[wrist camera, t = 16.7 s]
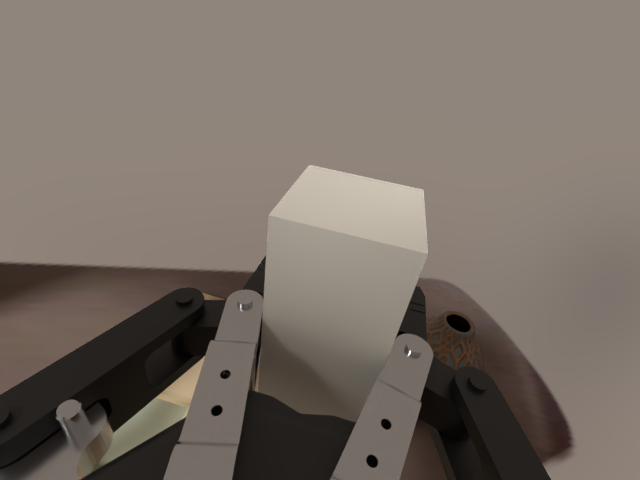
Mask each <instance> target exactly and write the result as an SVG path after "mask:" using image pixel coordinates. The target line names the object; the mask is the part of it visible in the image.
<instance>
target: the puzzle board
mask: <svg viewBox="0 0 640 480" xmlns="http://www.w3.org/2000/svg"><path fill="white" fill-rule="evenodd" d="M203 295H204V299H205V300H225V299H222V298H219V297H215V296H212V295H208V294H205V293H203ZM204 358H205V356H204V357H203V358H202V359H201V360H200V361H199V362H197V363H196V364H195V365H194V366H193V367H191V368H190V369H189V370H188V371H187V372H186V373H184V374H183V375H182V376H181V377H180V378H178V379H177V380H176V381H175V382H174V383H172V384H171V385H170V386H169V387H168V388H166V389H165V390H164V391H163V392H162V393H161V394H159V395H158V396H157V397H156V398H155V399H153V400H152V401H151V402H150V403H149V404H147V405H146V406H145V407H144V408H143V409H142V410H140V411H139V412H138V413H137V414H136V415H134V416H133V417H132V418H131V419H130V420H128V421H127V422H126V423H125V424H124V425H122V426H121V427H120V428H119V429H118V430H117V431H115V432H114V433H113V441H112V444H111V446H110V448H109V450H108V451H107V453H106V454H105V455H104V456H103V458H102V460H101V461H100V463H99V464H98V465H96V466H95V467H94V468H93V470H92V472H94V471H95V470H97V469H99V468H100V467H102V466H104V465H105V464H107V463H109V462H110V461H112V460H114V459H116V458H117V457H119V456H121V455H122V454H124V453H126V452H127V451H129V450H131V449H132V448H134V447H136V446H138V445H139V444H141V443H143V442H144V441H146V440H148V439H149V438H151V437H153V436H154V435H156V434H158V433H160V432H161V431H163V430H165V429H166V428H168V427H170V426H171V425H173V424H175V423H176V422H178V421H180V420H182V419H183V418H185V417H186V416H187V413H188V410H189V407H190V403H191V400H192V397H193V394H194V391H195V387H196V384H197V381H198V378H199V375H200V371H201V368H202V365H203V362H204ZM259 366H260V360H259ZM258 382H259V367H258V373H257V380H256V387H255V391H257V392H258ZM92 472H91V473H92Z"/></svg>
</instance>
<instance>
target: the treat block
mask: <svg viewBox="0 0 640 480" xmlns="http://www.w3.org/2000/svg"><path fill="white" fill-rule="evenodd" d="M267 233H268V234H267V249H266V266H265V282H264V299H263V316H262V332H261V349H260V366H259V382H258V392H260V393H263V394H266V395H269V396H273V397H275V398H276V399H278V400H279V401H281V402H282V403H284V404H286V405H287V406H289V407H290V408H292V409H294V410H295V411H297V412H299V413H301V414H315V415H333V416H337V417H340V418H343V419H346V420H349V421H353V422H357V420H358V418H359V416H360V414H361V411H362V409H363V407H364V405H365V403H366V400H367V398H368V396H369V394H370V392H371V389H372V387H373V385H374V383H375V381H376V379H377V378H378V376H379V374H380V372H381V370H382V367H383V365H384V363H385V361H386V359H387V356H388V354H390V351H391V349H392V346H393V344H394V341H395V338H396V336H397V333H398V331H399V328H400V325H401V323H402V320H403V318H404V315H405V312H406V310H407V307H408V305H409V302H410V299H411V297H412V294H413V292H414V289H415V286H416V284H417V281H418V279H419V276H420V273H421V271H422V268H423V266H424V263H425V261H426V258H427V255H428V246H427V232H426V218H425V204H424V190H422V189H418V188H413V187H408V186H404V185H399V184H394V183H390V182H386V181H381V180H377V179H372V178H367V177H363V176H358V175H354V174H349V173H344V172H340V171H335V170H331V169H326V168H321V167H317V166H312V165H309V166H308V168H306V170H305V171H304V172H303V173H302V175H301V176H300V177H299V178H298V180H297V181H296V182H295V183H294V184H293V186H292V187H291V188H290V189H289V191H288V192H287V193H286V194H285V196H284V197H283V198H282V199H281V200H280V202H279V203H278V204H277V205H276V207H275V208H274V209H273V210H272V212H271V213H270V214H269V217H268V232H267Z"/></svg>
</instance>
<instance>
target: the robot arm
mask: <svg viewBox="0 0 640 480" xmlns="http://www.w3.org/2000/svg"><path fill="white" fill-rule="evenodd" d="M265 266H266V256H265V258H264V259H263V260H262V262H261V264H260V265H259V266H258V268H257V270H256V271H255V272H254V274H253V275H252V277H251V278H250V280H249V281H248V283H247V284H246V285H245V287H244V288H243V290H239V291H236V292H234V293H232V294H231V295H230V296H229V297H228V298H227V299H225V300H205V299H204V295H203V293H202V292H201V291H199V290H197V289H194V288H181V289H177V290H175V291H173V292H171V293H169V294H168V295H166V296H164V297H163V298H161V299H159V300H158V301H156V302H154V303H153V304H151V305H149V306H148V307H146V308H144V309H143V310H141V311H139V312H138V313H136V314H134V315H133V316H131V317H129V318H128V319H126V320H124V321H123V322H121V323H119V324H118V325H116V326H114V327H113V328H111V329H109V330H108V331H106V332H104V333H103V334H101V335H99V336H98V337H96V338H94V339H93V340H91V341H89V342H88V343H86V344H84V345H83V346H81V347H79V348H78V349H76V350H74V351H73V352H71V353H69V354H68V355H66V356H64V357H63V358H61V359H59V360H58V361H56V362H54V363H53V364H51V365H49V366H48V367H46V368H44V369H43V370H41V371H39V372H38V373H36V374H34V375H33V376H31V377H29V378H28V379H26V380H24V381H23V382H21V383H20V384H18V385H16V386H15V387H13V388H11V389H10V390H8V391H6V392H5V393H3V394H1V395H0V480H399V479H400V476H401V473H402V469H403V466H404V462H405V459H406V456H407V452H408V449H409V445H410V442H411V439H412V435H413V432H414V428H415V425H416V422H417V418H420V419H422V420H423V421H425V422H426V423H428V424H429V427H430V431H431V433H432V436H433V439H434V442H435V445H436V447H437V450H438V453H439V456H440V459H441V461H442V464H443V467H444V470H445V473H446V475H447V478H448V480H551V479H550V477H549V475H548V474H547V472H546V470H545V468H544V467H543V465H542V463H541V462H540V460H539V458H538V456H537V455H536V453H535V451H534V449H533V448H532V446H531V444H530V442H529V441H528V439H527V437H526V436H525V434H524V432H523V430H522V429H521V427H520V425H519V423H518V422H517V420H516V418H515V417H514V415H513V413H512V411H511V410H510V408H509V406H508V404H507V403H506V401H505V399H504V398H503V396H502V394H501V392H500V391H499V389H498V387H497V385H496V384H495V382H494V381H493V380H492V379H491V377H489V376H488V375H487V374H486V373H485V372H483V371H481V370H479V369H477V368H475V367H471V366H464V367H461V368H459V369H458V370H455V369H453V368H451V367H450V366H448V365H446V364H444V363H443V362H441V361H440V360H438V359H437V358H436V357H435V356H434V355H433V351H432V349H431V347H430V345H429V344H428V343H427V330H426V315H425V313H426V309H425V296H424V294H423V292H422V291H421V289H420V287H417V286H415V289H414V292H413V294H412V297H411V299H410V302H409V305H408V307H407V310H406V312H405V315H404V318H403V320H402V323H401V325H400V328H399V331H398V333H397V336H396V338H395V341H394V344H393V346H392V349H391V351H390V354H388V356H387V359H386V361H385V363H384V365H383V367H382V370H381V372H380V374H379V376H378V378H377V379H376V381H375V383H374V385H373V387H372V389H371V392H370V394H369V396H368V398H367V400H366V403H365V405H364V407H363V409H362V411H361V414H360V416H359V418H358V420H357V422H353V421H349V420H346V419H343V418H340V417H337V416H333V415H315V414H301V413H299V412H297V411H295V410H294V409H292V408H290V407H289V406H287V405H286V404H284V403H282V402H281V401H279V400H278V399H276V398H275V397H273V396H269V395H266V394H263V393H260V392H257V391H255V387H256V380H257V373H258V367H259V360H260V349H261V332H262V316H263V299H264V282H265ZM204 356H205V358H204V362H203V365H202V368H201V371H200V375H199V378H198V381H197V384H196V387H195V391H194V394H193V397H192V400H191V403H190V407H189V410H188V413H187V416H186V417H185V418H183V419H182V420H180V421H178V422H176V423H175V424H173V425H171V426H170V427H168V428H166V429H165V430H163V431H161V432H160V433H158V434H156V435H154V436H153V437H151V438H149V439H148V440H146V441H144V442H143V443H141V444H139V445H138V446H136V447H134V448H132V449H131V450H129V451H127V452H126V453H124V454H122V455H121V456H119V457H117V458H116V459H114V460H112V461H110V462H109V463H107V464H105V465H104V466H102V467H100V468H99V469H97V470H95V471H94V472H92V470H93V468H94V467H95V466H96V465H98V464H99V463H100V461H101V460H102V458H103V456H104V455H105V454H106V453H107V451H108V450H109V448H110V446H111V444H112V441H113V433H114V432H115V431H117V430H118V429H119V428H120V427H121V426H122V425H124V424H125V423H126V422H127V421H128V420H130V419H131V418H132V417H133V416H134V415H136V414H137V413H138V412H139V411H140V410H142V409H143V408H144V407H145V406H146V405H147V404H149V403H150V402H151V401H152V400H153V399H155V398H156V397H157V396H158V395H159V394H161V393H162V392H163V391H164V390H165V389H166V388H168V387H169V386H170V385H171V384H172V383H174V382H175V381H176V380H177V379H178V378H180V377H181V376H182V375H183V374H184V373H186V372H187V371H188V370H189V369H190V368H191V367H193V366H194V365H195V364H196V363H197V362H199V361H200V360H201V359H202V358H203V357H204ZM91 472H92V473H91Z"/></svg>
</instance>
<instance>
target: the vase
mask: <svg viewBox="0 0 640 480" xmlns="http://www.w3.org/2000/svg"><path fill="white" fill-rule="evenodd" d="M426 330H427V343H428V344H429V345H430V347H431V349H432V351H433V355H434V356H435V357H436V358H437V359H438V360H440V361H441V362H443V363H444V364H446V365H448V366H450V367H451V368H453V369H455V370H458V369H459V368H461V367H464V366H471V367H475V368H477V369H479V370H481V371H483V372H484V359H483V354H482V351H481V348H480V345H479V343H478V341H477V338H476V336H475V326H474V324H473V322H472V321H471V320H470V319H469V318H468V317H467V316H466V315H464V314H462V313H460V312H456V311H447V312H445V313H444V314H442V315H440V316H437V317H432V318H427V319H426Z"/></svg>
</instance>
